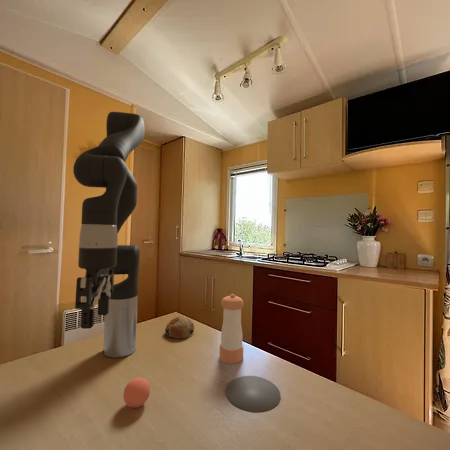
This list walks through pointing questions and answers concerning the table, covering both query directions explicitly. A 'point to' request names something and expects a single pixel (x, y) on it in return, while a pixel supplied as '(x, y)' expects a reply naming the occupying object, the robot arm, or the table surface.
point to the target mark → (253, 393)
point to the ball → (136, 392)
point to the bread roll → (180, 327)
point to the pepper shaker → (231, 330)
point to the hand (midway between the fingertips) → (95, 320)
